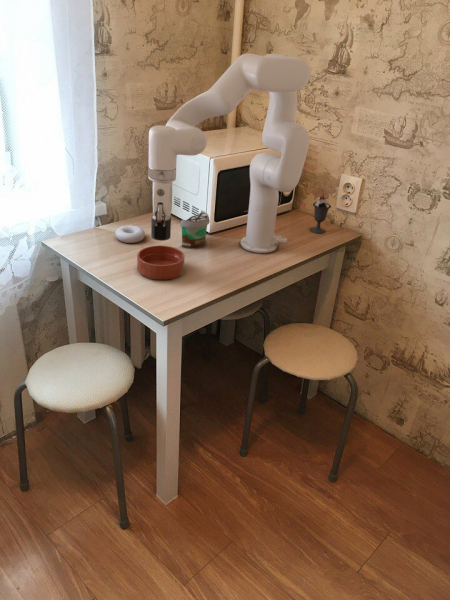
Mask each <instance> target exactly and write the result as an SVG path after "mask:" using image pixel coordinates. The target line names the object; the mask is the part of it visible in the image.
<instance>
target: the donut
mask: <svg viewBox="0 0 450 600" xmlns="http://www.w3.org/2000/svg"><path fill="white" fill-rule="evenodd" d="M114 233H115V234H114V236H115V238H116V240H118V241H119V242H122V243H125V244H126V243H127V244H135V243H139V242H141V241H143V239H144V238H145V237H146V231H145V230H144V229H143V228H142V227H141V226H138V225H132V224H127V225H122V226H120V227H119V226H118V228H116V230H115V232H114Z"/></svg>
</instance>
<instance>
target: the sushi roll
mask: <svg viewBox="0 0 450 600" xmlns="http://www.w3.org/2000/svg"><path fill="white" fill-rule="evenodd" d="M157 215H158V214H157ZM162 215H164V214H162ZM155 219H156V215H155V216H154V215H153V214H152V216H151V219H150V220H151V222H150V225H151V227H150V228H151V229H150V230H151V231H150V236H151V239H153V240H155V241H160V242H161V241H163V242H164V241H168V240H170V239H171V235H172V233H171V232H172V231H171V230H172V228H171V227H172V217H171V216H170V217H168V216H166V218H165V226H166V239H155V238H154V235H155ZM162 219H163V218H162Z"/></svg>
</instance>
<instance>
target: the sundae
mask: <svg viewBox="0 0 450 600" xmlns="http://www.w3.org/2000/svg"><path fill="white" fill-rule="evenodd" d="M321 192H322V195H320V198H318V200H317V201H315V202H313V203H312V207H314V208H313V209H314V213H313V215H314V216H313V217H314V220H315V221H316V227H311V229H310V230H311V232H312V233H315V234H323V233H324V232H325V230H324V229H323V228H321V223H323V222H324V221H325V220H326V218H327V217H328V216H327V215H328V213H329V210H330V209H331V208H332V205H331V204H330V203H328V201H327V199H326V198H325V193H324V190H321Z"/></svg>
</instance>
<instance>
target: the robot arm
mask: <svg viewBox="0 0 450 600" xmlns="http://www.w3.org/2000/svg"><path fill="white" fill-rule="evenodd" d="M310 79H311V68H310V65H309V63H308V62H307V61H306V60H304V59H303V58H300V57H294V56H289V55H285V54H279V53H268V54H265V55H261V54H256V53H251V52H250V53H249V52H248V53H243V54H240V55H239V56H238V57H237V58H236V59H235V60H234V61H233V62H232V63H231V64H230V66H229V67H228V68H227V69H226V70H225V71H224V73H222V74H221V76H220V77H219V78H218V79H217V80H216V81H215V83H214V84H213V85H212V86H211V87H210V88H209V89H208V90H206V91H204V92H202V93H200V94H198V95H196V96H195V97H193V98H191V99H190V100H188V101H186V102H185V103H184V104H183V105H181V106H180V107H179V108H178V109H177V110H176V111H175V112H174V114H173V115H171V117H170V118H169V119H168V120H167V122H166V123H165V125H154V126H152V127H150V128H149V131H148V178H147V179H148V180H150V181H152V216H153V215H154V216H155V215H156V219H155V235H154V238H155V239H166V226H165V218H166V216H168V217H171V215H172V211H173V210H172V209H173V208H172V207H173V182H175V181H176V179H177V160H178V159H177V158H178V156H188V157H189V156H192V157H193V156H198V155H200V154H201V153H203V152H204V151H205V149H206V147H207V145H208V138H207V135H206V134H205V132H204V131H203V130H202V129H200V128H199V127H197V125H199V124H200V123H202V122H203V121H205V120H208V119H211V118H216V117H222V116H225V115H229V114H231V113H233V111H234V110H235V109H236V108H237V107H238V106H239V105H240V103H241V102H242V101H243V100H244V99H245V97H246V96H247V95H248V94H249V93H250V92H251V91H252V90H253V89H254V90H258V91H262V92H268V95H269V102H268V108H267V111H266V117H265V121H264V125H263V130H262V135H261V141H262V144H263V145H264V146H265V147H266V148H268V149H270V150H272V151H274V152H277V153H280V156H279V155H276V154H273V153H272V152H271V153H270V152H260V153H257V154H256V155H254V156H253V158H252V159H251V161H250V165H249V183H250V190H249V191H250V192H249V203H248V210H247V220H246V231H245V236H244V237H243V238H241V239H240V243H239V244H240V246H241V248H243V249H244V250H246V251H248V252H251V253H256V254H269V253H273V252H274V251H277V248H278V244H280V245H287V244H288V238H286V237H283V235H276V234H275V229H276V222H277V214H278V207H279V200H280V195H279V192H281V193H290V192H292V191H294V190H295V189H296V187H297V186H298V184H299V182H300V179H301V176H302V173H303V170H304V167H305V166H304V165H305V163H306V158H307V155H308V152H309V147H310V135H309V131H308V129H307V128H306V127H305V126H303V125H302V124H299V123H296V122H295V118H296V113H297V109H298V95H297V92H299V91H301V90H303V89H304V88H305V87H306V86H307V85H308V83H309V81H310ZM157 214H158V215H157ZM162 214H164V215H162ZM162 218H163V219H162ZM155 239H154V240H155Z"/></svg>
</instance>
